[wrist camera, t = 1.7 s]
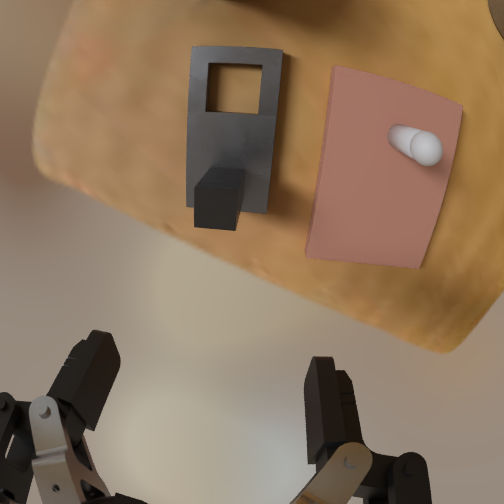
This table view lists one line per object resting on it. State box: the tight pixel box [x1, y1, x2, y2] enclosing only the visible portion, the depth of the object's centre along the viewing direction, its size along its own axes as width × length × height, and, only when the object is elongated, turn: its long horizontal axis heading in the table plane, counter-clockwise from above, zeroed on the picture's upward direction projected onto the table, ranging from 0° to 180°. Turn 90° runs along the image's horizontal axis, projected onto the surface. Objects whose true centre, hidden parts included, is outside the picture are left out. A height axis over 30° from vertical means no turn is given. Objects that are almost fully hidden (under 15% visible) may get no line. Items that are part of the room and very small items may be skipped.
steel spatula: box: [186, 46, 283, 231], centre depth 21 cm, size 15×7×7 cm, turn 175°
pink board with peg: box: [305, 65, 463, 269], centre depth 21 cm, size 18×13×8 cm
